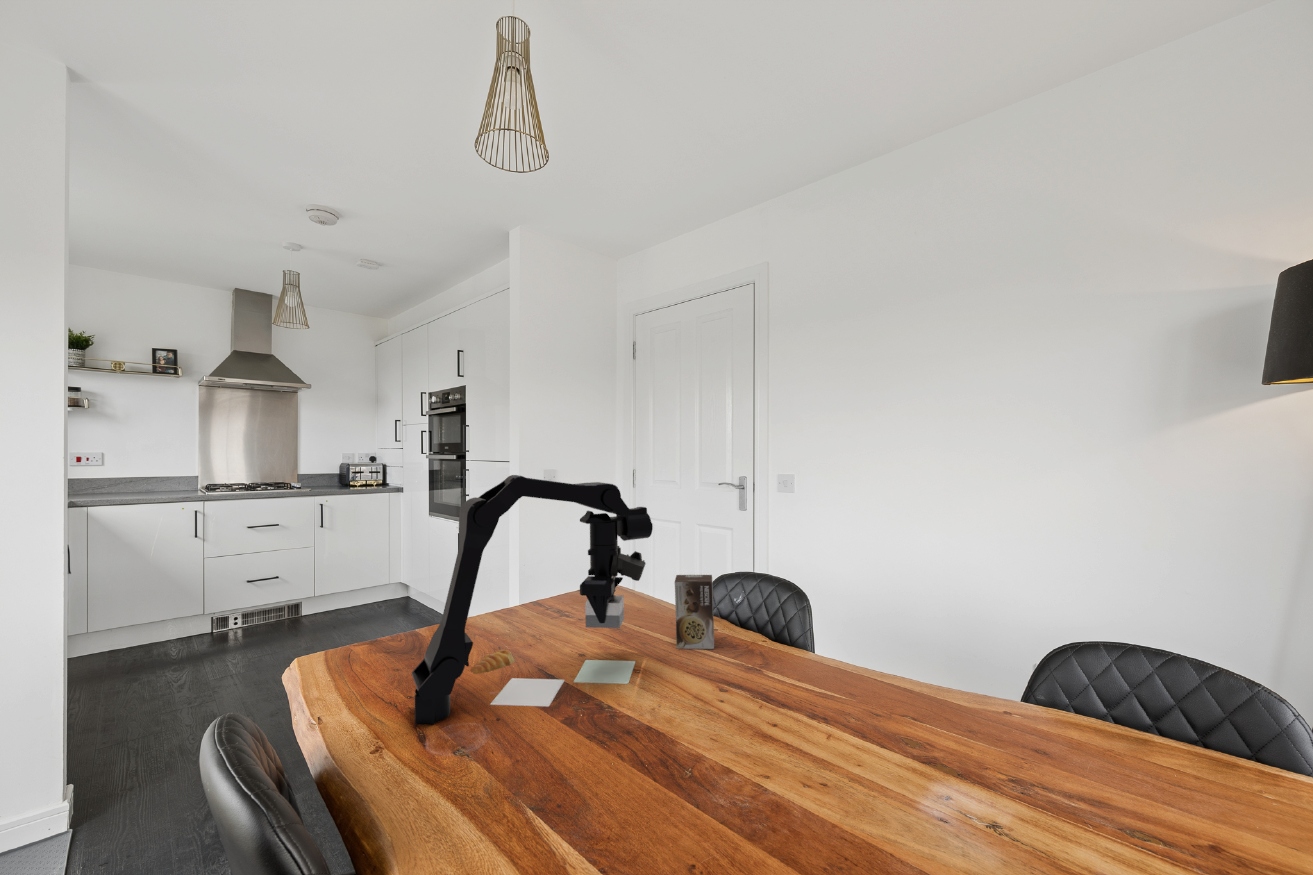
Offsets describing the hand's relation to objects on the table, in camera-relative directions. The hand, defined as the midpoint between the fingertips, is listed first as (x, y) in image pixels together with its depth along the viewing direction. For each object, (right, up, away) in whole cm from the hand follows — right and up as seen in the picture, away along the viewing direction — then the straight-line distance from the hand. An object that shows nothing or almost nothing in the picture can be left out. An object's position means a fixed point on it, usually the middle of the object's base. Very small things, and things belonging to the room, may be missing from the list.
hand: (604, 618), depth 113 cm
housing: (0, -1, 0) cm, 1 cm away
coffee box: (+20, -13, +18) cm, 30 cm away
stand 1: (-14, -13, -9) cm, 21 cm away
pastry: (-24, -13, +5) cm, 28 cm away
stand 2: (0, -13, 0) cm, 12 cm away
